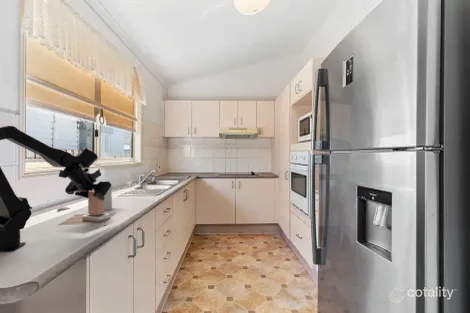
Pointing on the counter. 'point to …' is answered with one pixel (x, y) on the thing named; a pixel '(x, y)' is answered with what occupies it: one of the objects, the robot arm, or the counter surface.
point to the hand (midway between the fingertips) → (98, 199)
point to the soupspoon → (63, 209)
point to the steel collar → (96, 217)
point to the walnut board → (78, 220)
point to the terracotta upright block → (95, 204)
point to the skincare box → (108, 200)
